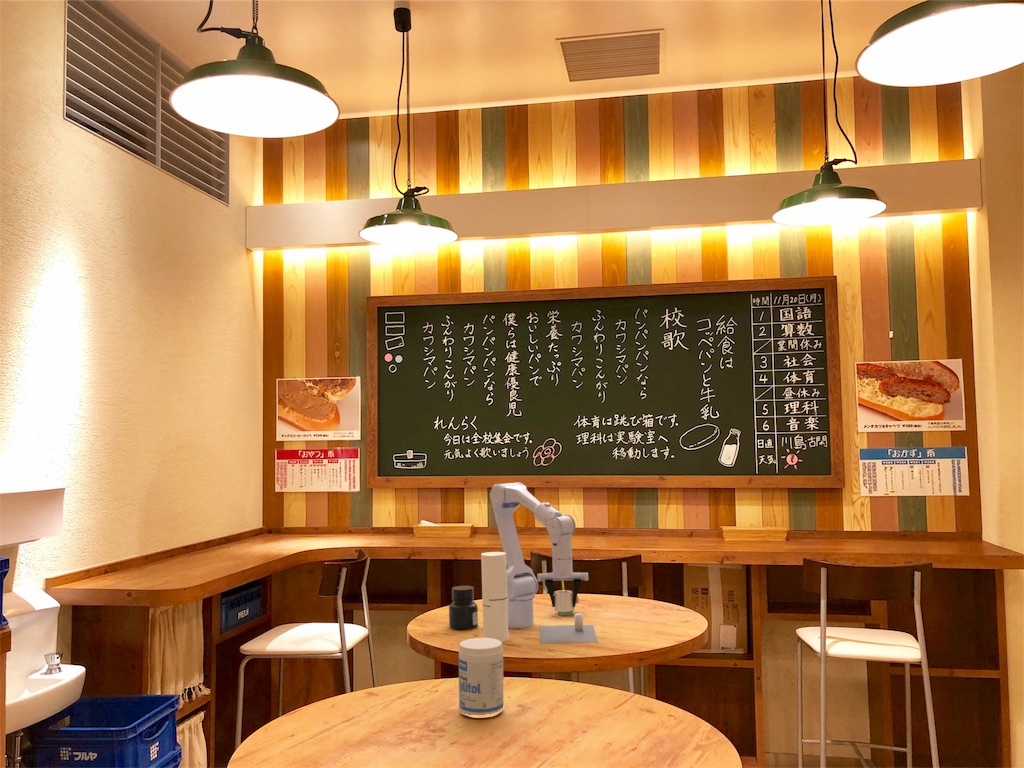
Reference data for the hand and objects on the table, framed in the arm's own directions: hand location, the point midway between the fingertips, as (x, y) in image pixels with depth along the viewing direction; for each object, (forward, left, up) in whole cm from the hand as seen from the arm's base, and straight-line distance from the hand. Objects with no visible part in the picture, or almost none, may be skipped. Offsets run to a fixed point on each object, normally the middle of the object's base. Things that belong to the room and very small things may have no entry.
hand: (563, 606), depth 231 cm
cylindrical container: (-20, -2, -10) cm, 22 cm away
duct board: (+1, +2, -9) cm, 10 cm away
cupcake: (+1, +32, -10) cm, 34 cm away
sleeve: (0, 0, -1) cm, 1 cm away
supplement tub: (-20, -59, -10) cm, 63 cm away
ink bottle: (-31, +17, -10) cm, 36 cm away
